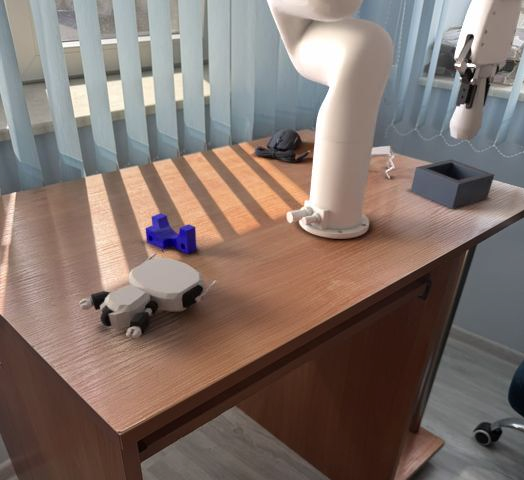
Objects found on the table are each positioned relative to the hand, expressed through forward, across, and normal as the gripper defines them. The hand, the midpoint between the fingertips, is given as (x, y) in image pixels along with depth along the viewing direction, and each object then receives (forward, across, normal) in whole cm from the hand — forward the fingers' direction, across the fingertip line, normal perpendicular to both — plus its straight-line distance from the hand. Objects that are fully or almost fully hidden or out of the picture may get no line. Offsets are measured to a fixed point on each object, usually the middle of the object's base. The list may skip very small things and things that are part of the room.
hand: (470, 105), depth 97 cm
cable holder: (+19, +59, -8) cm, 63 cm away
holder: (+17, -1, 0) cm, 17 cm away
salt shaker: (+6, 0, 0) cm, 6 cm away
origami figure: (+18, +2, -18) cm, 25 cm away
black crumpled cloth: (+18, +11, -40) cm, 45 cm away
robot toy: (+19, +70, +8) cm, 73 cm away
